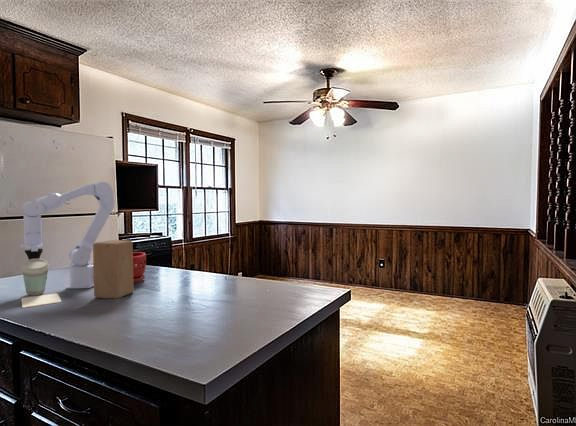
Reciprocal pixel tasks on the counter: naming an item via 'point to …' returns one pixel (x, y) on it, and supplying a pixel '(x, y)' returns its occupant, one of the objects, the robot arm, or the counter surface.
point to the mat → (40, 300)
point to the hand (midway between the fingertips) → (34, 268)
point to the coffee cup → (35, 275)
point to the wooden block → (113, 268)
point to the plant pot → (138, 266)
